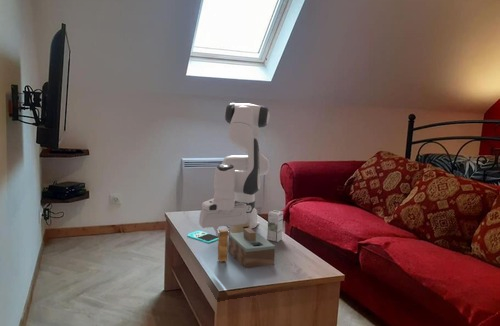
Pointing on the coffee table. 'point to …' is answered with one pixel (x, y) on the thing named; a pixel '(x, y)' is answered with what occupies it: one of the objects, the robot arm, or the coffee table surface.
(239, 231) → the coffee cup
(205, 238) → the handheld game console
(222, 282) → the coffee table surface
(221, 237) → the wooden block
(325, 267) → the coffee table surface
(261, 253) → the toolbox
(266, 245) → the toolbox lid
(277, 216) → the syrup box
